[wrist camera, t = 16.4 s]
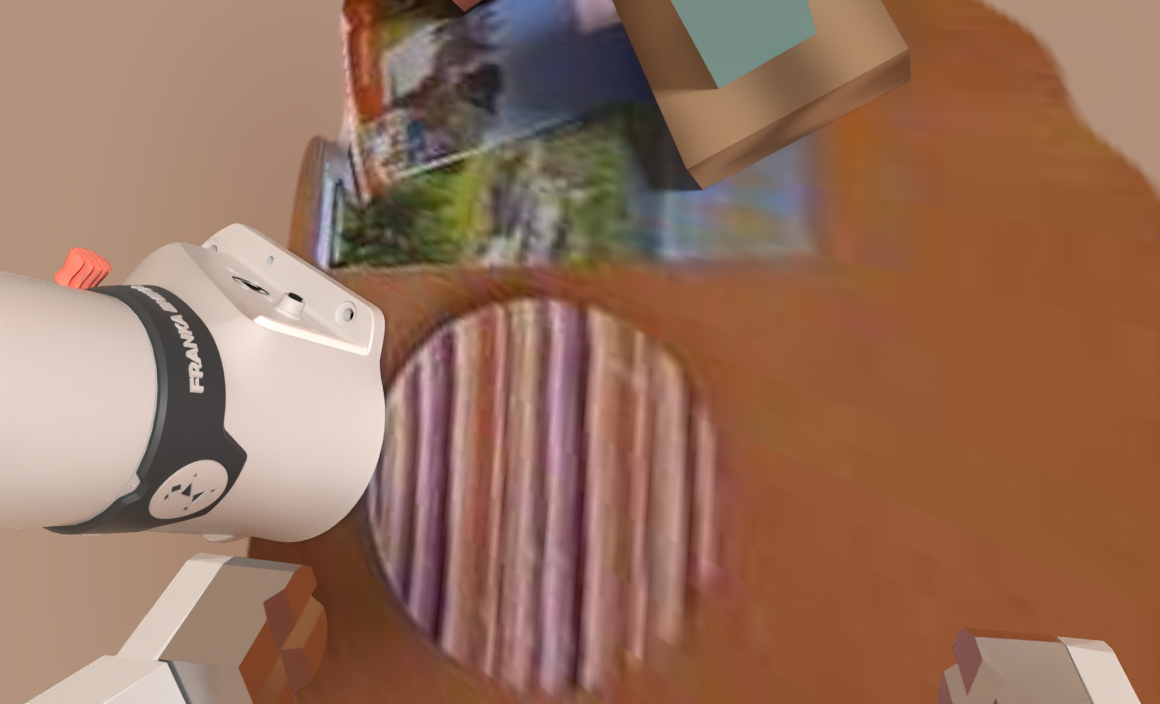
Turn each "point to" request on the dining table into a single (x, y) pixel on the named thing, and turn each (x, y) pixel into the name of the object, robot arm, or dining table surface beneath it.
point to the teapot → (466, 3)
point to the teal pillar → (743, 32)
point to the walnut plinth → (764, 82)
